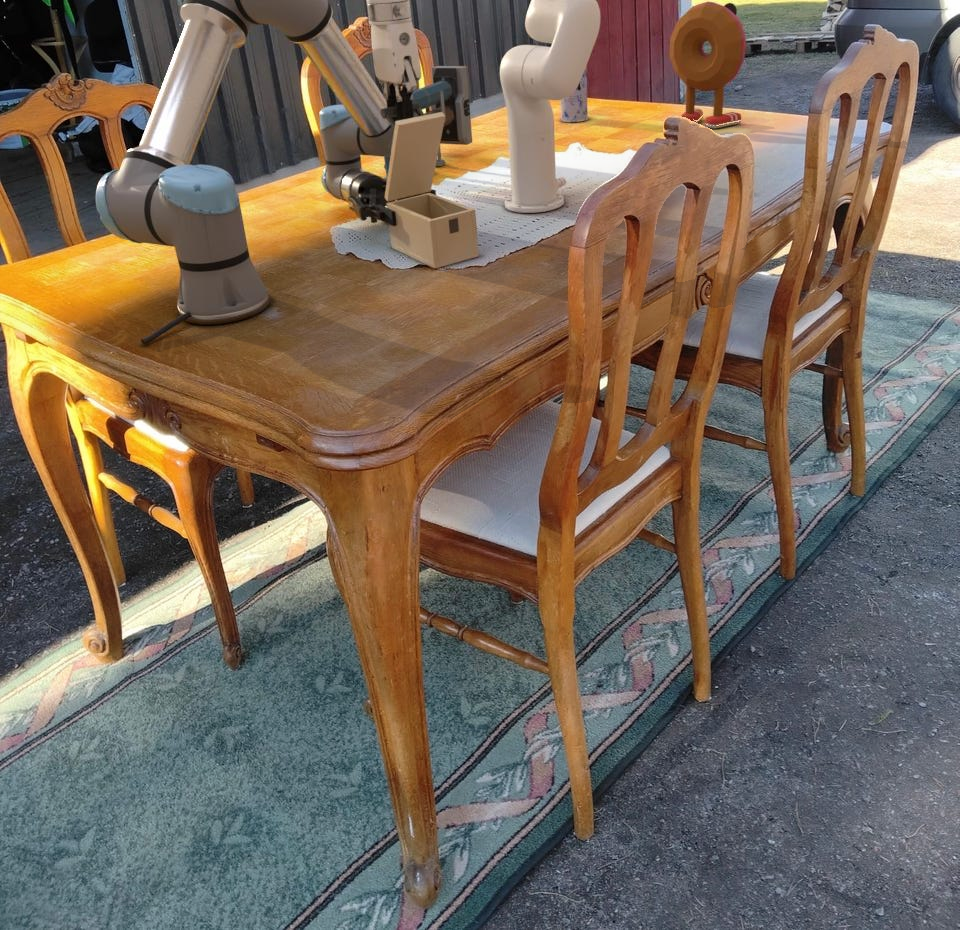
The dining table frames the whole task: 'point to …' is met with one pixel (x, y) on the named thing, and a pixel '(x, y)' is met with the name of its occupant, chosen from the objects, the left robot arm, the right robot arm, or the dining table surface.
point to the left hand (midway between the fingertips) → (418, 212)
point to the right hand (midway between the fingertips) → (401, 121)
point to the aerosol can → (576, 103)
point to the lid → (412, 152)
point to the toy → (708, 56)
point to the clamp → (446, 106)
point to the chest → (434, 230)
